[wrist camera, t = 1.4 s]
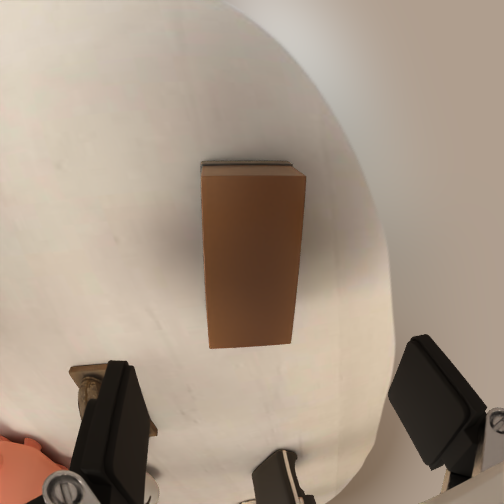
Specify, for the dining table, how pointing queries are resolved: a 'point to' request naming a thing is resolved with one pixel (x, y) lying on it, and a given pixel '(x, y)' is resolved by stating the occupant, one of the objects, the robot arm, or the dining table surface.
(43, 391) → the dining table surface
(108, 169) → the dining table surface
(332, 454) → the dining table surface
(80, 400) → the figurine
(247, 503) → the can
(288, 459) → the battery charger
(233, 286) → the eraser
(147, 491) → the ornament
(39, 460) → the teapot
